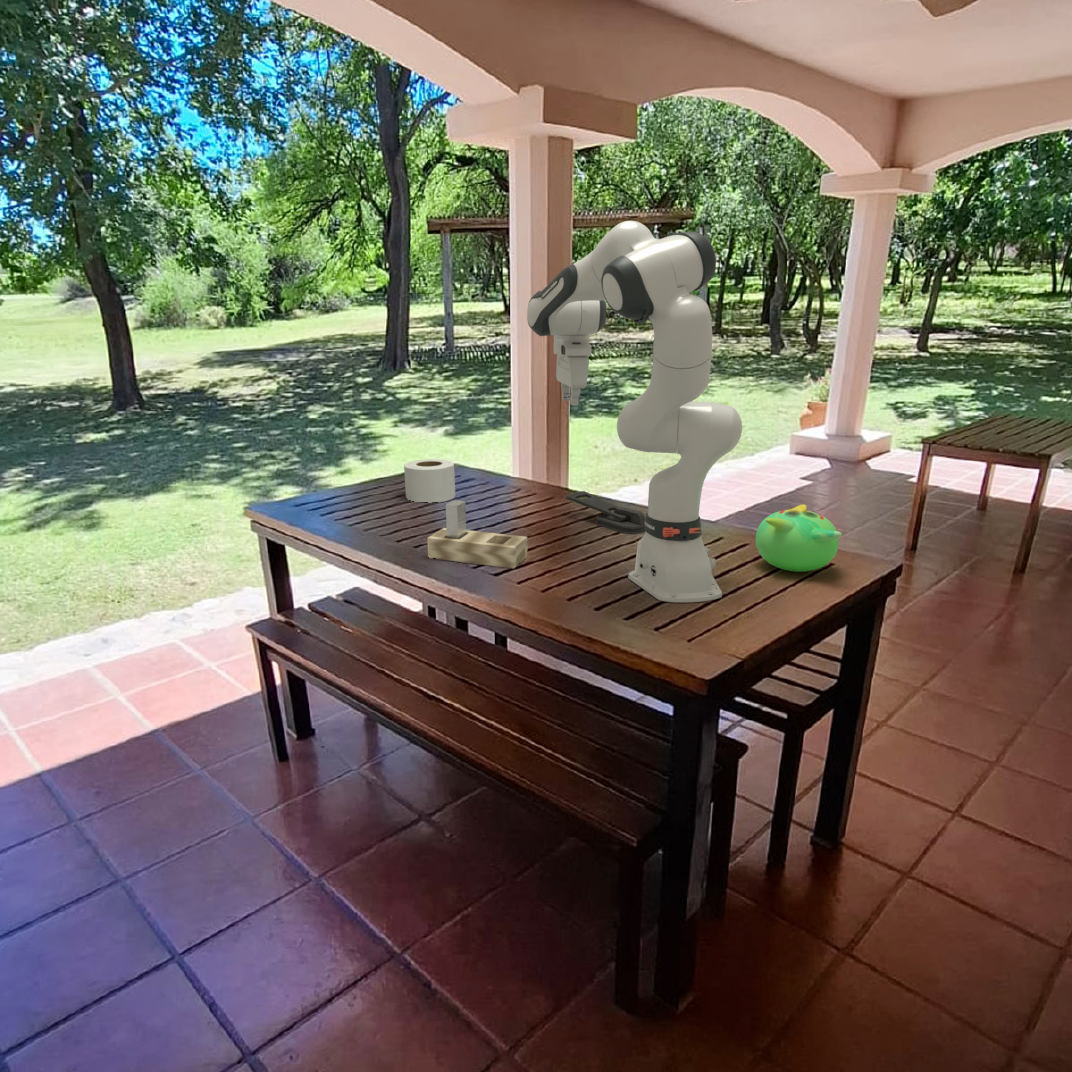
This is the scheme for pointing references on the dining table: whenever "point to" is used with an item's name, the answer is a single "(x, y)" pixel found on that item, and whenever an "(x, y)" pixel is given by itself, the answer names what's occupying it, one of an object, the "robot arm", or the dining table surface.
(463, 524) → the grey square pillar
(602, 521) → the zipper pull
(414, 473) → the toilet paper roll
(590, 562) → the dining table surface
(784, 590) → the dining table surface
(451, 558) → the hollow cinder block
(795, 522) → the toy bird
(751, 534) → the dining table surface
